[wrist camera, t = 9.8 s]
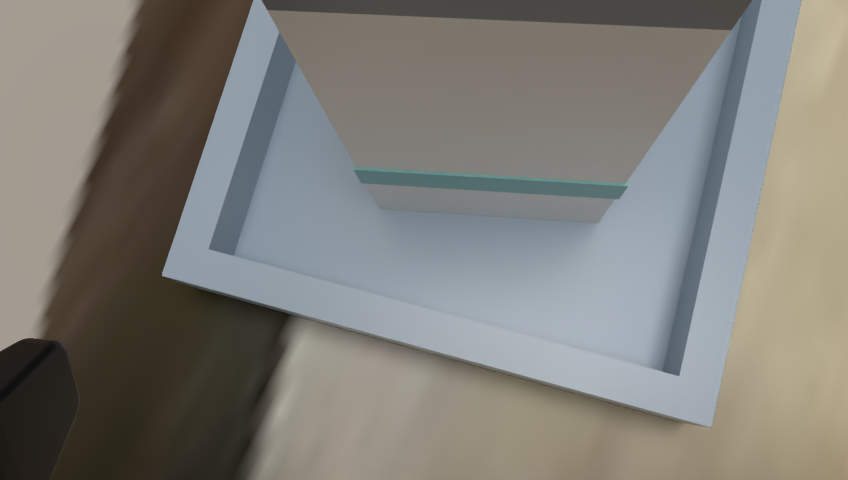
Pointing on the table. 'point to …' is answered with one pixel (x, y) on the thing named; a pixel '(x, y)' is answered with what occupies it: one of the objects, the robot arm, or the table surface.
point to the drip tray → (499, 235)
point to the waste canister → (501, 94)
